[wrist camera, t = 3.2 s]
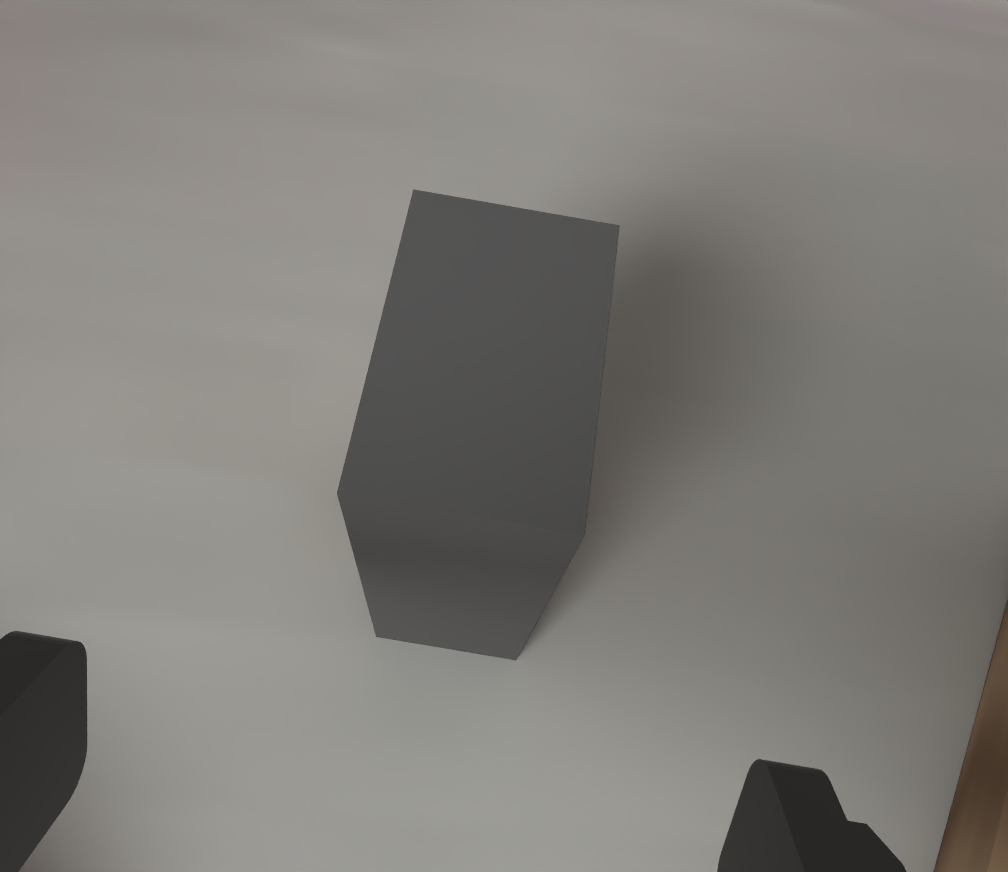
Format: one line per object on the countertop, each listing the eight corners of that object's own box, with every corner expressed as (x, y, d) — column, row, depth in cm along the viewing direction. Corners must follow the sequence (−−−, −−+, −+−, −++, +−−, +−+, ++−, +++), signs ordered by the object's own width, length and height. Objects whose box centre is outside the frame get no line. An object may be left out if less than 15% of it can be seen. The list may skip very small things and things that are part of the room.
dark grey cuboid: (516, 660, 21) (586, 535, 12) (374, 636, 21) (335, 492, 12) (545, 459, 23) (621, 226, 14) (417, 437, 23) (411, 189, 14)
